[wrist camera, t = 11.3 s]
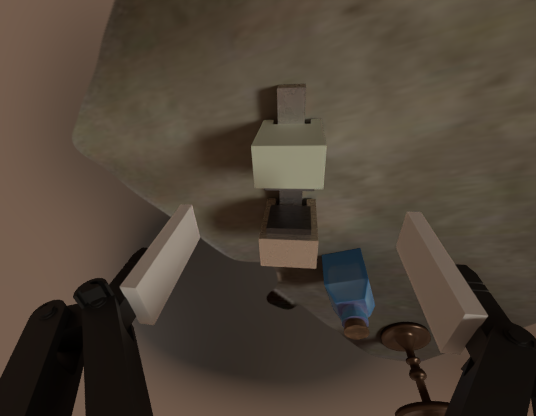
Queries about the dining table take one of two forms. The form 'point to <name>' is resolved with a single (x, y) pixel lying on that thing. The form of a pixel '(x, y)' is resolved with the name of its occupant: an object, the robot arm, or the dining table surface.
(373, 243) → the dining table surface
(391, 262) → the dining table surface
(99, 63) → the dining table surface
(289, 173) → the block
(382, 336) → the candlestick
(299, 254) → the grey l-shaped piece
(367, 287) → the perfume bottle
